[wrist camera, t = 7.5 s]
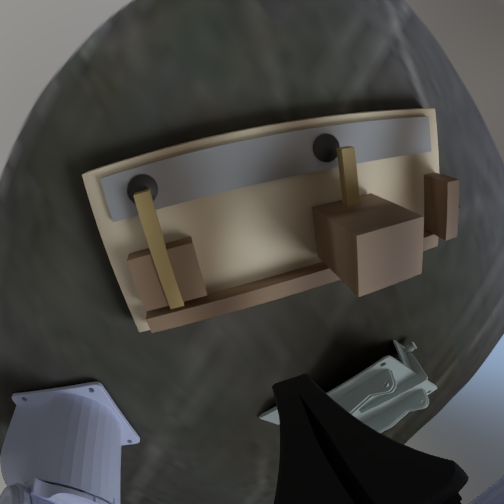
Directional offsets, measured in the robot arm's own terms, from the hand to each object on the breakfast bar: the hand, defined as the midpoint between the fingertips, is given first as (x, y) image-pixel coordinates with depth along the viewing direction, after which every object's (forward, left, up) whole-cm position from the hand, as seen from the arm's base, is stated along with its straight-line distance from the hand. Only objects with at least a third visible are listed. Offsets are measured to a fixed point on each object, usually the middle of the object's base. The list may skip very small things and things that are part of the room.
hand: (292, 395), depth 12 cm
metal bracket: (+8, -16, -11) cm, 21 cm away
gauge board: (+4, +4, -10) cm, 11 cm away
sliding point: (+7, +4, -8) cm, 12 cm away
